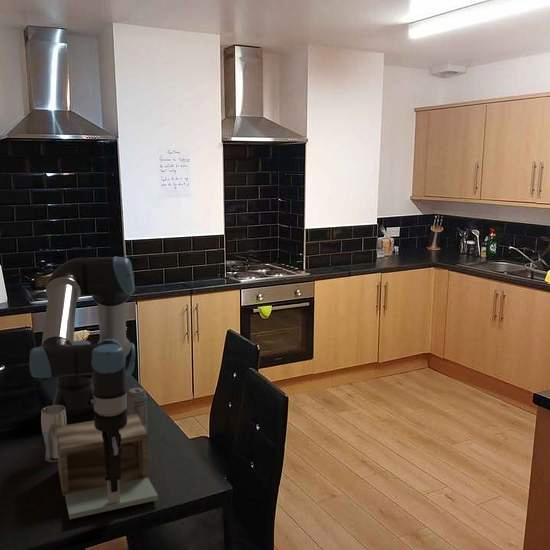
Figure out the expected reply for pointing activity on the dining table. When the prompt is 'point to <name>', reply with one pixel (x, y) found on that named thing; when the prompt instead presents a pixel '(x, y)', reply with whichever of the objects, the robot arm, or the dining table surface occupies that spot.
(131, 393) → the energy drink can
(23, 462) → the dining table surface
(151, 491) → the door
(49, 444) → the beer glass
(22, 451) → the dining table surface
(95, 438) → the cabinet
